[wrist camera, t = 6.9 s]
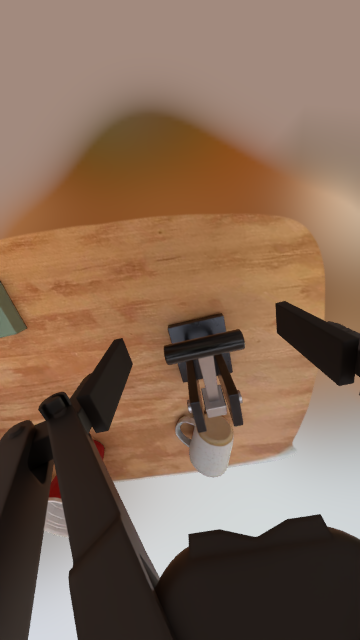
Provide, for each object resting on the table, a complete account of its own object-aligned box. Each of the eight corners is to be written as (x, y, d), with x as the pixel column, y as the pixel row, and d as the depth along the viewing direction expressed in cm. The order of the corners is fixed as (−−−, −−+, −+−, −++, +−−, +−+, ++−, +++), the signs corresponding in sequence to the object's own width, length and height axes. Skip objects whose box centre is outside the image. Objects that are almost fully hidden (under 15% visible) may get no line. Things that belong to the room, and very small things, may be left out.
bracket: (167, 325, 31) (161, 382, 18) (221, 313, 30) (256, 362, 17) (182, 378, 35) (187, 456, 22) (231, 368, 34) (264, 442, 21)
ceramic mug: (229, 410, 38) (241, 449, 31) (222, 439, 41) (232, 480, 34) (177, 407, 37) (176, 445, 30) (174, 436, 40) (173, 476, 33)
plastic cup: (60, 430, 39) (14, 504, 28) (113, 431, 39) (88, 504, 28) (69, 464, 43) (31, 540, 32) (117, 464, 43) (96, 540, 32)
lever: (162, 336, 14) (164, 365, 12) (236, 319, 13) (248, 346, 12) (190, 399, 23) (194, 420, 22) (234, 391, 23) (241, 411, 21)
